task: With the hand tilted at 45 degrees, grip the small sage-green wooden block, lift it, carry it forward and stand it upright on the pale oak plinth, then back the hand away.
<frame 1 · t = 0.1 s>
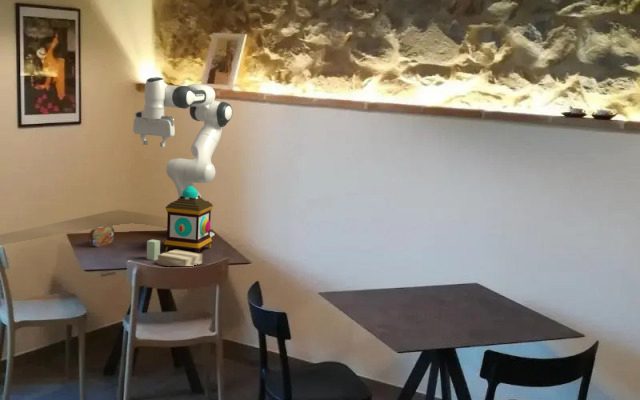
hand: (153, 145, 345), 48 cm above the table, tool pointing down, fingers open, 8 cm apart
plinth: (180, 263, 333), on the table
decorative lantern: (188, 250, 358), on the table
green block: (153, 258, 338), on the table
tin: (101, 245, 357), on the table
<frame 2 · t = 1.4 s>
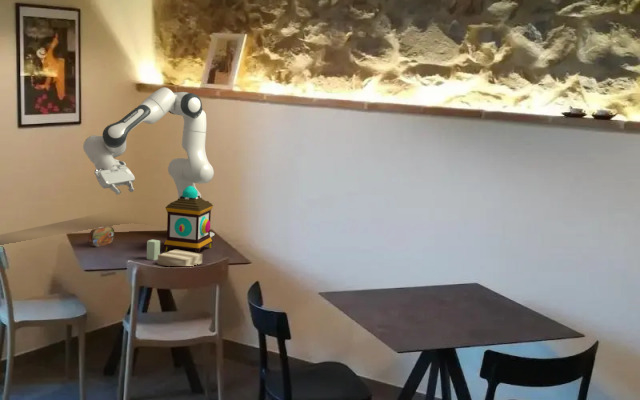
hand: (125, 192, 339), 28 cm above the table, tool tilted 45°, fingers open, 8 cm apart
nothing on the table moved.
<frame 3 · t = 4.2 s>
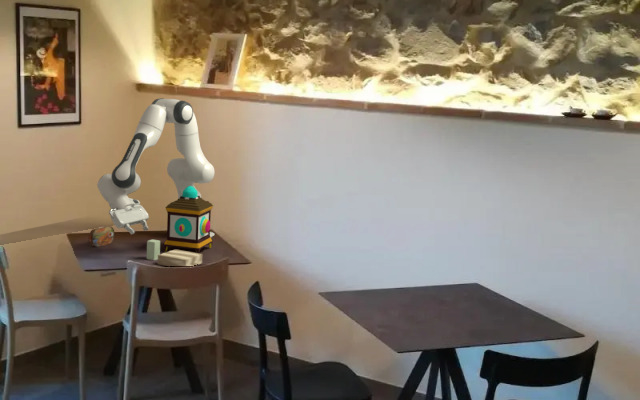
hand: (140, 231, 339), 11 cm above the table, tool tilted 45°, fingers open, 8 cm apart
nothing on the table moved.
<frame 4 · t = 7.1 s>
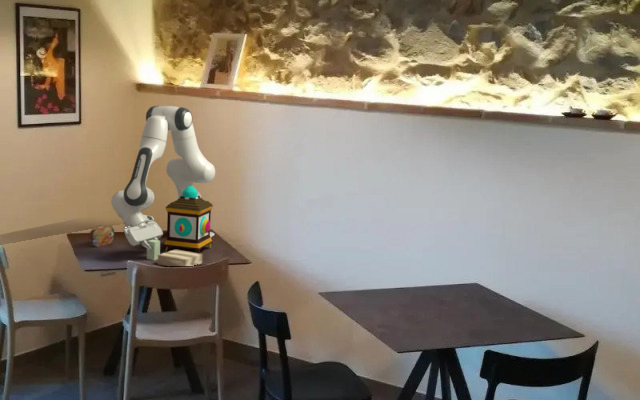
hand: (154, 248, 337), 5 cm above the table, tool tilted 45°, fingers closed on green block, 4 cm apart
green block: (153, 258, 338), on the table, touching gripper
everything else where it was.
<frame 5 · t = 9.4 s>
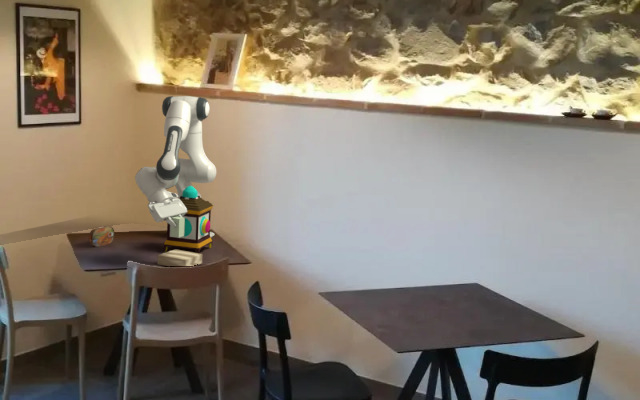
hand: (179, 225, 330), 17 cm above the table, tool tilted 45°, fingers closed on green block, 4 cm apart
green block: (177, 236, 331), point 12 cm above the table, touching gripper
everything else where it was.
when the fingers open (10 cm above the table, at t = 11.8 s): green block drops 1 cm, resting on plinth.
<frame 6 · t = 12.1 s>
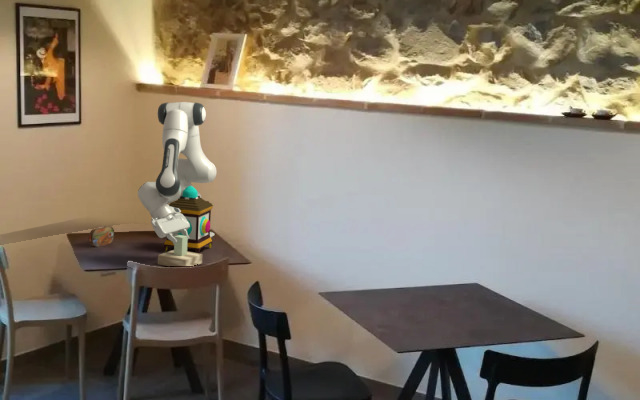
hand: (182, 241, 331), 10 cm above the table, tool tilted 45°, fingers open, 7 cm apart
green block: (180, 254, 332), point 4 cm above the table, touching plinth
everything else where it was.
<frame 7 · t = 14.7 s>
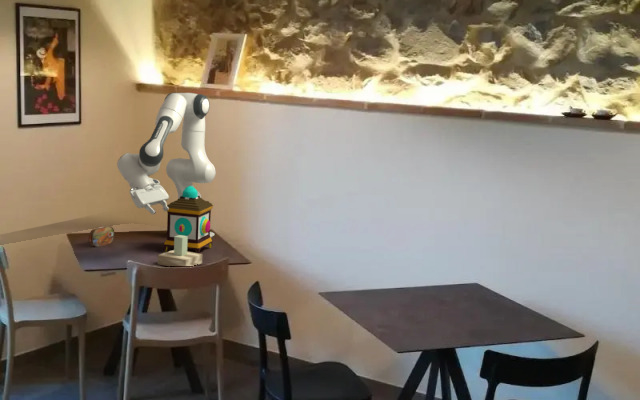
hand: (160, 211, 333), 21 cm above the table, tool tilted 45°, fingers open, 8 cm apart
nothing on the table moved.
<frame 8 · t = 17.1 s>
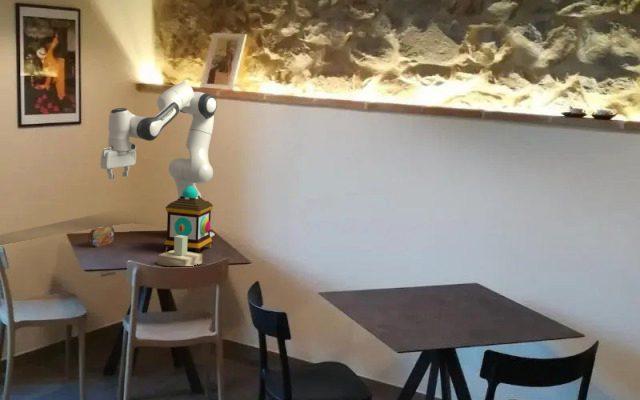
hand: (118, 177, 337), 34 cm above the table, tool pointing down, fingers open, 8 cm apart
nothing on the table moved.
at the end: green block inside the target area on the plinth (0.1 cm from its centre), point 4.0 cm above the plinth's base; green block tilted 0°; the gripper is holding nothing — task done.
